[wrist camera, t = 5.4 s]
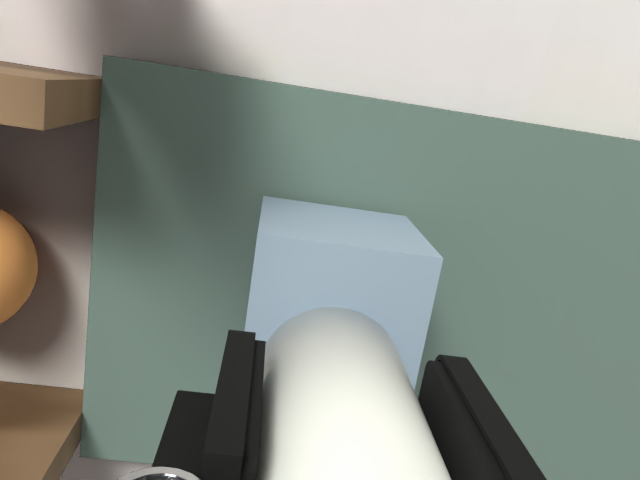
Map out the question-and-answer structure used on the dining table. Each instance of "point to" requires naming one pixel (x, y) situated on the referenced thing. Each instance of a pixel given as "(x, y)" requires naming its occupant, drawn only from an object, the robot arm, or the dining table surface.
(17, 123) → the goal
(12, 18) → the dining table surface
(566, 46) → the dining table surface
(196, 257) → the board
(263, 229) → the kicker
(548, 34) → the dining table surface
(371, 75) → the dining table surface
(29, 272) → the ball
